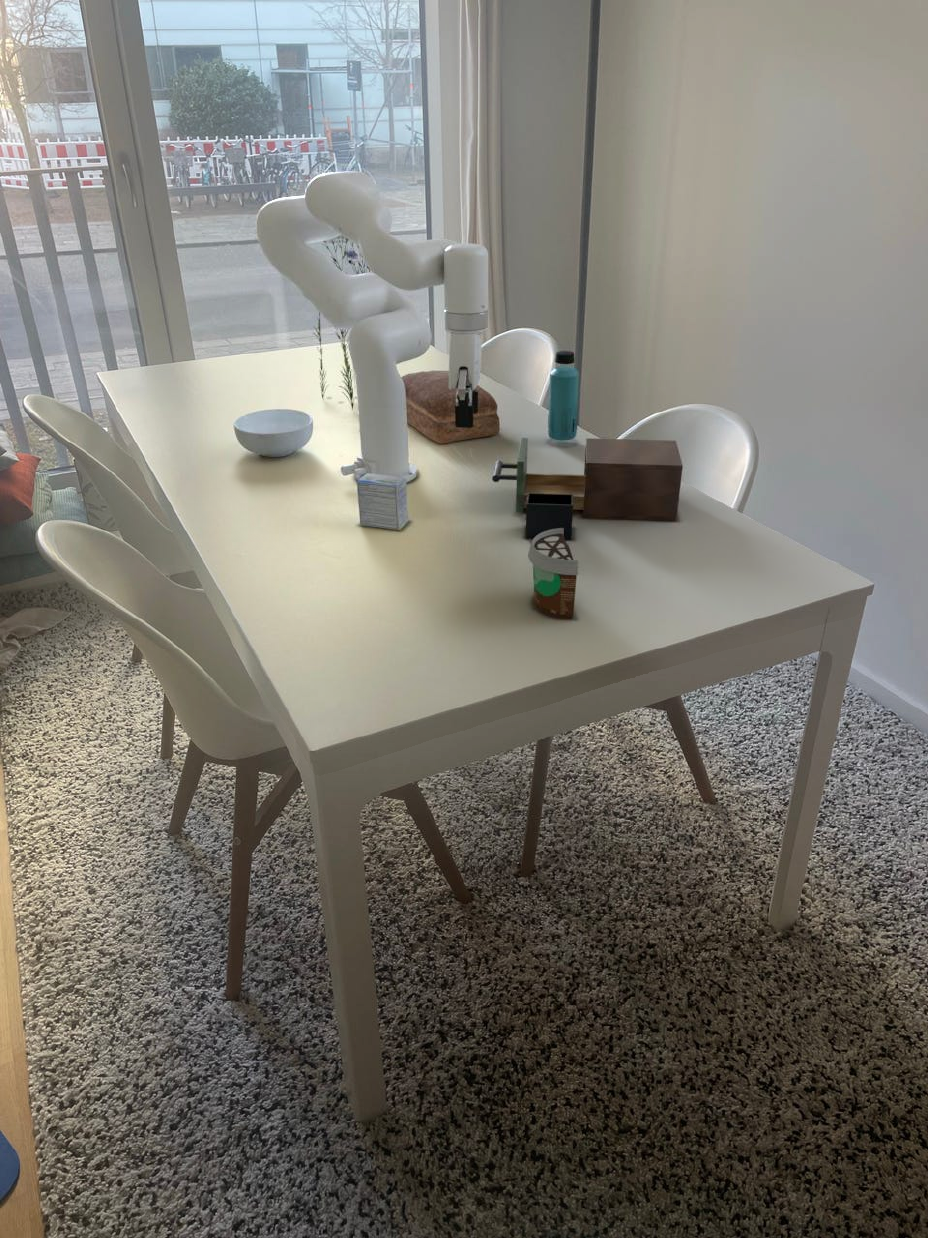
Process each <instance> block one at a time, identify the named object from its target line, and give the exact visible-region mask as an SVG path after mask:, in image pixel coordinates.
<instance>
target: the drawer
mask: <svg viewBox="0 0 928 1238" xmlns="http://www.w3.org/2000/svg"><path fill="white" fill-rule="evenodd" d="M528 439H529V438H528V437H521V439H520V443H519V449H518V455H517V460H516V463H509V462H506V463H505V462H503V461H502V460H497V461H495V465H494V469H493V473H492V477H491V480H492V481H493V482H494V483H499V481H503V480H504V481H516V497H515V499H516V501H515V502H516V503H515V504H516V505H515V512H516V513H523V512H524V509H526V503H527V495H528V493H543V494H573V510H576V511H578V510H579V511H583V510H584V493H585V476H586V475H584V474H567V473H566V474H564V473H563V474H562V473H560V474H559V473H532V472H528V442H529V441H528ZM503 469H510V470H511V469H513V470H515V469H516V474H503V473H502V471H503Z"/></svg>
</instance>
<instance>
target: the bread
mask: <svg viewBox="0 0 928 1238" xmlns="http://www.w3.org/2000/svg"><path fill="white" fill-rule="evenodd" d="M401 378H402V380H403V382H404V386H405V391H406V410H407V424H408V425H410V426H412V427H413V428H414V429H416V430H417V432H419V433H420V434H423V435H424V436H425V437H427V438H428V439H430V440H431V441H433V442H435V443H437V444H447V443H454V442H459V441H464V440H470V439H478V438H485V437H491V436H494V435H495V436H496V435H498V434H499V432H500V429H501V427H500V423H501V422H500V417H499V415H498V404H497V401H496V400H495V398H494V396H492V394H491V393H490V392H488V391H487V390H485V389H484V388H483V387H481V386H480V385H479V384H478V385H477V391H474V392H478V413H476V414H473V427H472V428H462V427H456V426H455V405H456V388H457V385H456V387H455V389H453V390H450V389H449V370H428V371H418V372H409V373H407V374H405V375H401Z"/></svg>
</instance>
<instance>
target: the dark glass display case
mask: <svg viewBox="0 0 928 1238" xmlns="http://www.w3.org/2000/svg"><path fill="white" fill-rule="evenodd" d="M573 516H574V509H573V494H543V493H528V495H527V503H526V508H525V536H524V537H525V539H528V540H529V539H532V540H533V539H534V538H535V537H536V536H537V535H538V534H540V533H542V532H545V531H548V530H552V529H558V528H564V534H563V536H564V538H565V541H572V537H573V519H574V518H573Z"/></svg>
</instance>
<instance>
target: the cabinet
mask: <svg viewBox="0 0 928 1238" xmlns="http://www.w3.org/2000/svg"><path fill="white" fill-rule="evenodd" d="M584 451H585V452H584V467H583V475H586V476H585V493H584V510H582V518H583V519H601V520H603V519H606V520H607V519H608V520H629V521H630V520H632V521H636V520H637V521H658V522H660V521H661V522H677V519H678V510H679V503H680V493H681V484H682V477H683V475H682V474H683V467H684V465H683V461H682V458H681V455H680V454H681V453H680V450H679V447H678V443H677V441H676V440H668V439H667V440H664V439H663V440H661V439H629V438H625V439H624V438H591V437H590V438H588V437H587V438H586V437H585V450H584Z"/></svg>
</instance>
